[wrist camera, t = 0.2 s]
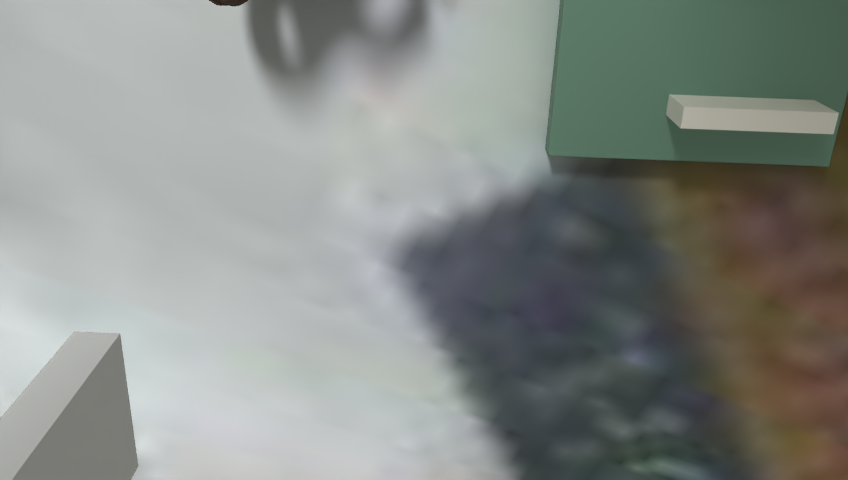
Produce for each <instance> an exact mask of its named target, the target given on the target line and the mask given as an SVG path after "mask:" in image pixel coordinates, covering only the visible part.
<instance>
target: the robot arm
mask: <svg viewBox="0 0 848 480" xmlns="http://www.w3.org/2000/svg"><path fill="white" fill-rule="evenodd" d="M137 467H138V461H137V454H136V446H135V439H134V432H133V425H132V417H131V410H130V403H129V395H128V388H127V381H126V373H125V366H124V359H123V352H122V344H121V337H120V334H118V333H95V332H73V334H72V335H71V336H70V337H69V338H68V339H67V341H66V342H65V343H64V344H63V345H62V346H61V348H60V349H59V350H58V351H57V352H56V354H55V355H54V356H53V357H52V358H51V359H50V361H49V362H48V363H47V364H46V365H45V366H44V368H43V369H42V370H41V371H40V372H39V373H38V375H37V376H36V377H35V378H34V379H33V381H32V382H31V383H30V384H29V385H28V386H27V388H26V389H25V390H24V391H23V392H22V393H21V395H20V396H19V397H18V398H17V399H16V401H15V402H14V403H13V404H12V405H11V406H10V408H9V409H8V410H7V411H6V412H5V413H4V415H3V416H2V417H1V418H0V480H131V478H132V476H133V475H134V473H135V471H136V469H137Z"/></svg>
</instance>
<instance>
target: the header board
mask: <svg viewBox="0 0 848 480" xmlns="http://www.w3.org/2000/svg"><path fill="white" fill-rule="evenodd" d="M847 93H848V0H560V10H559V19H558V29H557V39H556V49H555V59H554V69H553V79H552V89H551V98H550V108H549V118H548V128H547V138H546V148H545V149H546V151H547V153H548V156H570V157H596V158H622V159H647V160H673V161H699V162H725V163H750V164H776V165H802V166H828V167H829V164H830V160H831V156H832V152H833V148H834V144H835V140H836V136H837V132H838V129H839V125H840V121H841V117H842V113H843V109H844V105H845V101H846V97H847Z"/></svg>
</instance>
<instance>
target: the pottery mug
mask: <svg viewBox="0 0 848 480" xmlns="http://www.w3.org/2000/svg"><path fill="white" fill-rule="evenodd" d="M209 1H211V2H212V3H214V4H216V5H220V6H221V5H225V6H226V5H229V6H239V5H241V4H243V3H245V2H247V1H248V0H209Z"/></svg>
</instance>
